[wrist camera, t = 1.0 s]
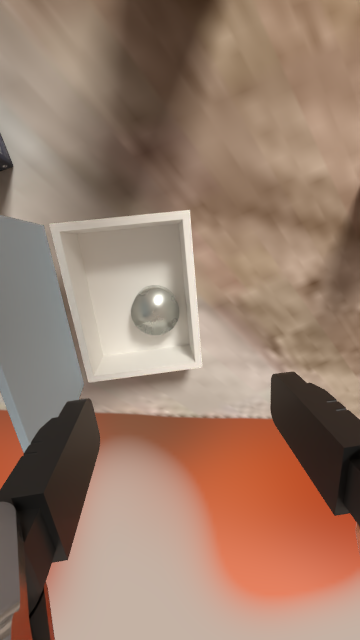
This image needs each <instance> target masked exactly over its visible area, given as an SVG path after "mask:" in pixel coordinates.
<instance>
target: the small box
mask: <svg viewBox="0 0 360 640" xmlns="http://www.w3.org/2000/svg"><path fill="white" fill-rule="evenodd" d="M10 167H13V164H12V161H11V159H10V156H9V154H8V151H7V149H6V146H5V144H4V141H3V139H2V136H1V134H0V171H2V170H4V169H7V168H10Z"/></svg>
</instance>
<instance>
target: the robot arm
mask: <svg viewBox="0 0 360 640" xmlns="http://www.w3.org/2000/svg"><path fill="white" fill-rule="evenodd" d="M271 415H272V419H273V421H274V423H275V425H276V427H277V429H278V430H279V432H280V433H281V435H282V436H283V438H284V439H285V441H286V442H287V444H288V445H289V447H290V448H291V450H292V451H293V453H294V454H295V456H296V458H297V459H298V460H299V462H300V464H301V465H302V467H303V468H304V470H305V471H306V473H307V474H308V476H309V477H310V479H311V480H312V482H313V483H314V485H315V486H316V488H317V489H318V491H319V492H320V494H321V496H322V497H323V499H324V500H325V502H326V503H327V505H328V506H329V508H330V509H331V511H332V512H333V514H334V515H335V516H336V515H341V514H348V513H350V514H351V515H352V516H353V517H354V519H355V521H356V522H357V525H356V536H357V542H358V547H359V553H360V420H359V419H358V418H357V417H356V416H355V415H354V414H352V413H351V412H350V411H349V410H346V408H345V407H344V406H343V405H342V404H341V403H340V402H337V401H336V399H335V398H334V397H333V396H332V395H330V394H329V393H328V392H327V391H326V390H324V389H322V388H320V387H318V386H316V385H314V384H312V383H306V382H305V381H304V380H303V379H302V378H301V377H300V376H298V375H297V374H296V373H295V372H286V373H278V374H273V375H272V378H271ZM99 446H100V435H99V430H98V425H97V421H96V417H95V413H94V409H93V405H92V402H91V400H90V399H81V400H74V401H68V402H66V404H65V405H64V407H63V409H62V411H61V412H60V414H59V416H58V417H55V418H51V419H50V420H49V421H48V422H47V423H46V424H45V425H44V426H42V427H41V428H40V429H39V430H38V432H37V433H36V435H35V437H34V438H33V440H32V441H31V445H29V446H28V447H27V449H26V451H25V452H24V456H22V457H21V458H20V460H19V461H18V463H17V465H16V466H15V468H14V469H13V471H12V472H11V474H10V475H9V477H8V479H7V480H6V482H5V483H4V485H3V486H2V488H1V489H0V640H55V638H54V630H53V624H52V616H51V608H50V601H49V594H48V587H47V584H46V578H47V576H48V573H49V569H50V566H51V563H52V562H59V561H64V560H68V557H69V554H70V550H71V547H72V543H73V540H74V536H75V532H76V529H77V526H78V522H79V519H80V515H81V511H82V508H83V505H84V501H85V497H86V494H87V490H88V487H89V483H90V480H91V476H92V472H93V469H94V466H95V462H96V459H97V455H98V452H99Z"/></svg>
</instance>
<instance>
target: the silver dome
mask: <svg viewBox="0 0 360 640" xmlns="http://www.w3.org/2000/svg"><path fill="white" fill-rule="evenodd" d="M131 317H132V320H133V322H134V324H135V326H136V327H137V328H138V329H139V330H141V331H142V332H144V333H146V334H149V335H162V334H165V333H167V332H169V331H170V330H171V329H173V327H174V326H175V325H176V323H177V321H178V319H179V306H178V303H177V300H176V298H175V296H174V294H173V293H172V292H171V291H170V290H169V289H167V288H166V287H163V286H160V285H151V286H147V287H145V288H143V289H142V290H141V291H139V293H138V294H137V295H136V297H135V299H134V302H133V304H132V307H131Z"/></svg>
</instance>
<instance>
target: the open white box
mask: <svg viewBox="0 0 360 640" xmlns="http://www.w3.org/2000/svg"><path fill="white" fill-rule="evenodd" d="M49 226H50V230H51V234H52V238H53V242H54V246H55V250H56V254H57V258H58V262H59V266H60V270H61V274H62V279H63V283H64V287H65V291H66V295H67V299H68V303H69V307H70V311H71V315H72V319H73V323H74V327H75V331H76V335H77V339H78V343H79V347H80V351H81V355H82V359H83V363H84V368H85V372H86V376H87V380H88V383H90V382H98V381H105V380H113V379H120V378H127V377H135V376H142V375H150V374H157V373H165V372H172V371H179V370H187V369H194V368H202V356H201V344H200V331H199V319H198V307H197V294H196V282H195V269H194V257H193V245H192V232H191V220H190V210H184V211H174V212H164V213H154V214H143V215H133V216H123V217H113V218H103V219H92V220H82V221H72V222H62V223H52V224H49ZM151 285H160V286H163V287H166V288H167V289H169V290H170V291H171V292H172V293H173V294H174V296H175V298H176V300H177V303H178V306H179V319H178V321H177V323H176V325H175V326H174V327H173V329H171V330H170V331H169V332H167V333H165V334H162V335H149V334H146V333H144V332H142V331H141V330H139V329H138V328H137V327H136V326H135V324H134V322H133V320H132V317H131V307H132V304H133V302H134V299H135V297H136V295H137V294H138V293H139V291H141V290H142V289H143V288H145V287H147V286H151Z"/></svg>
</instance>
